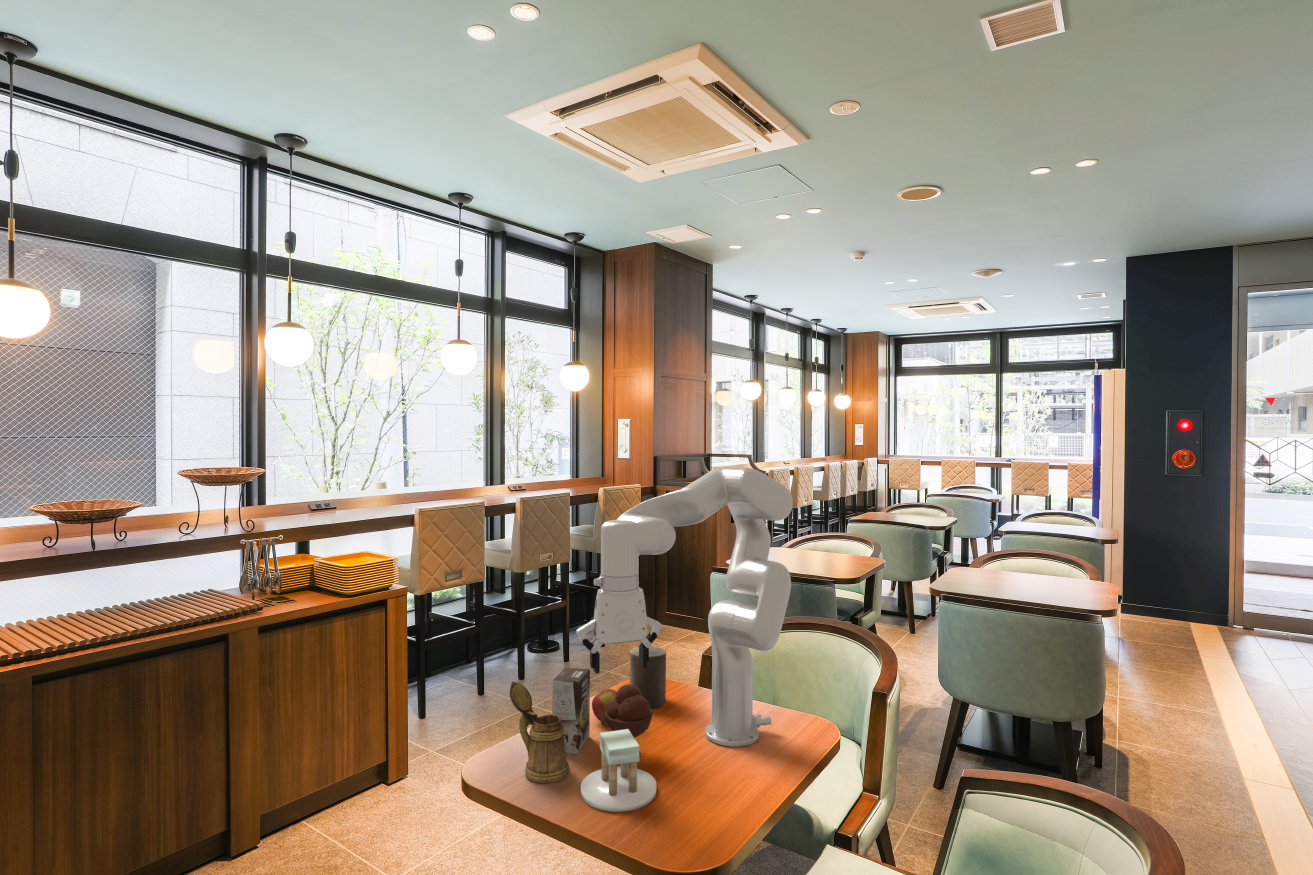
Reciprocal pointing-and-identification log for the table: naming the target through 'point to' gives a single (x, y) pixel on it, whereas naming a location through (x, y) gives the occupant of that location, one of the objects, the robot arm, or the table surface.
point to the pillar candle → (650, 676)
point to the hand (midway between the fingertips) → (619, 668)
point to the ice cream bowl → (629, 711)
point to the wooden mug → (540, 739)
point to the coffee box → (573, 706)
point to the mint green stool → (619, 758)
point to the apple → (602, 703)
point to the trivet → (618, 792)
